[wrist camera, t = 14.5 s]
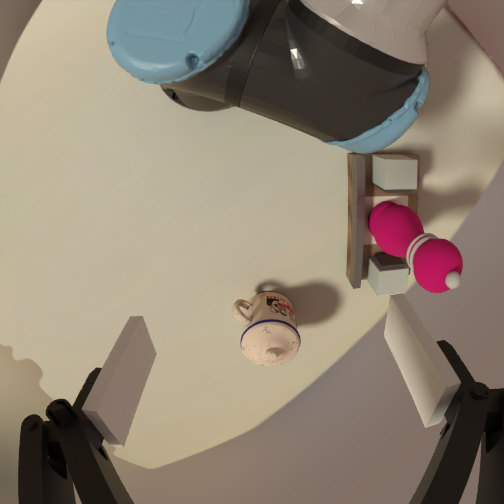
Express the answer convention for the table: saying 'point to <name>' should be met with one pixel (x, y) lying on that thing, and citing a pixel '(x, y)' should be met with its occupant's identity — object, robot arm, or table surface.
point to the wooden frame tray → (371, 200)
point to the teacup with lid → (268, 328)
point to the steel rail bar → (357, 219)
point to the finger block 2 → (387, 274)
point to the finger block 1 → (394, 173)
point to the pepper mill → (416, 246)
